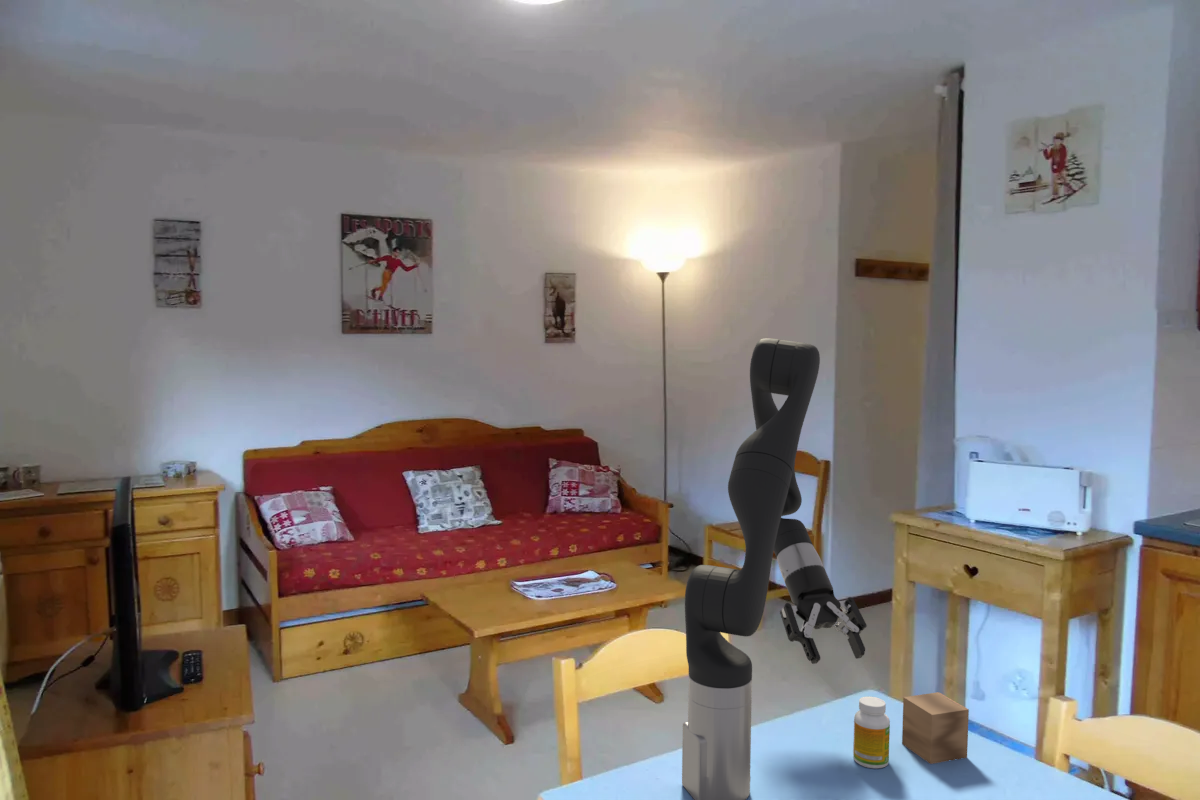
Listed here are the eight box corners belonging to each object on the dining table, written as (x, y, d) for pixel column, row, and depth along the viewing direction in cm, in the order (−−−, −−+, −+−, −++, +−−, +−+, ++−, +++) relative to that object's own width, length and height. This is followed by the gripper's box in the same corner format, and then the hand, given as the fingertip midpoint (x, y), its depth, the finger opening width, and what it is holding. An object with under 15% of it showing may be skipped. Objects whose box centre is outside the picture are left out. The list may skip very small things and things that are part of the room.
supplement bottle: (890, 771, 130) (892, 710, 130) (854, 767, 131) (856, 706, 131) (886, 754, 136) (888, 695, 135) (851, 751, 137) (853, 692, 136)
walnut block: (930, 764, 133) (932, 714, 132) (902, 744, 139) (903, 697, 139) (967, 758, 135) (968, 709, 134) (937, 738, 141) (938, 692, 141)
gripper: (776, 566, 147) (810, 653, 137) (847, 560, 151) (885, 644, 141) (761, 588, 152) (793, 673, 142) (829, 581, 156) (865, 664, 146)
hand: (838, 659), depth 141 cm, fingers open, 8 cm apart
